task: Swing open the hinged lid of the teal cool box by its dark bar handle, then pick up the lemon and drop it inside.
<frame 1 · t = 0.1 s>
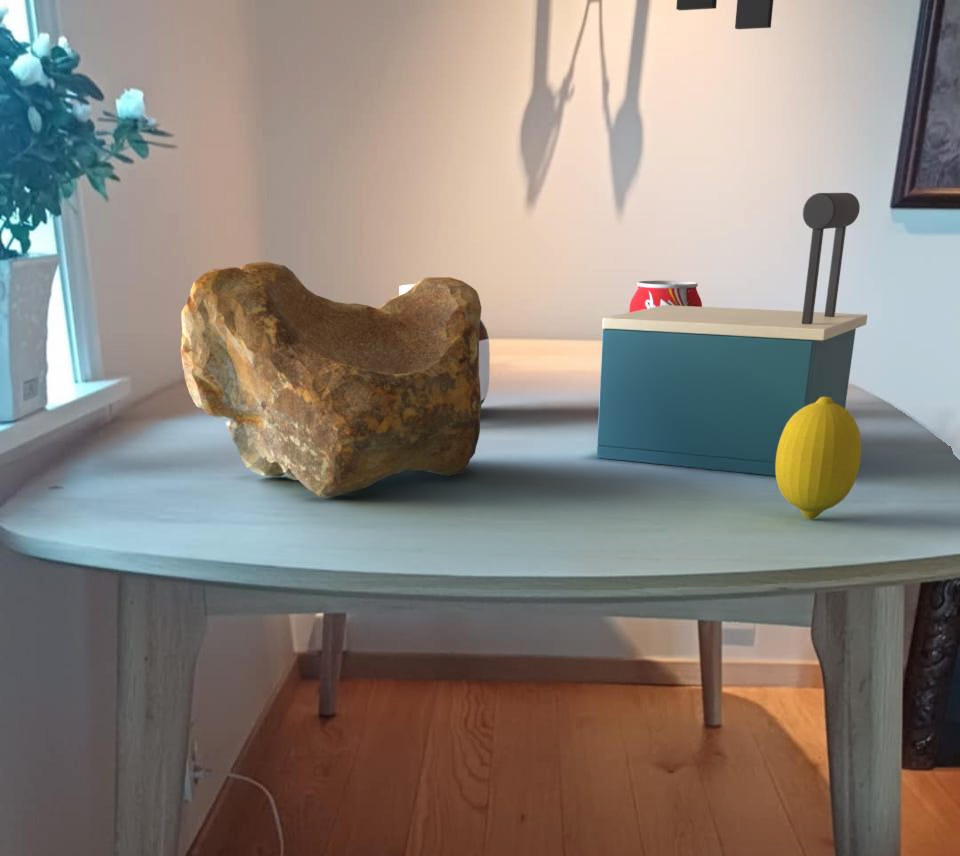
hand: (725, 19, 94), 31 cm above the table, tool pointing down, fingers open, 13 cm apart
lemon: (809, 522, 86), on the table
spread jar: (437, 420, 122), on the table
cooler lid: (742, 261, 100), point 15 cm above the table, hinge at 0.0°
soda can: (658, 416, 125), on the table
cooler: (720, 453, 107), on the table
rough brown rock: (353, 484, 96), on the table
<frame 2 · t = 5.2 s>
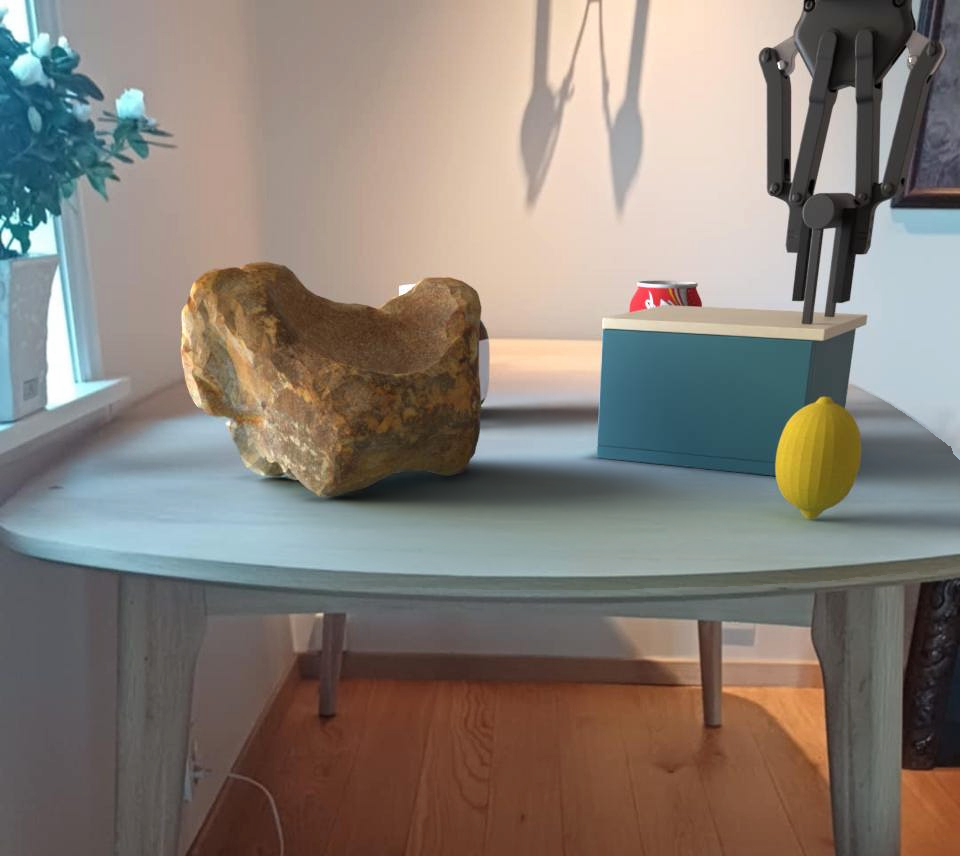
hand: (820, 300, 98), 12 cm above the table, tool pointing down, fingers closed on cooler lid, 2 cm apart
cooler lid: (742, 261, 100), point 15 cm above the table, hinge at 0.0°, touching gripper
everything else where it was.
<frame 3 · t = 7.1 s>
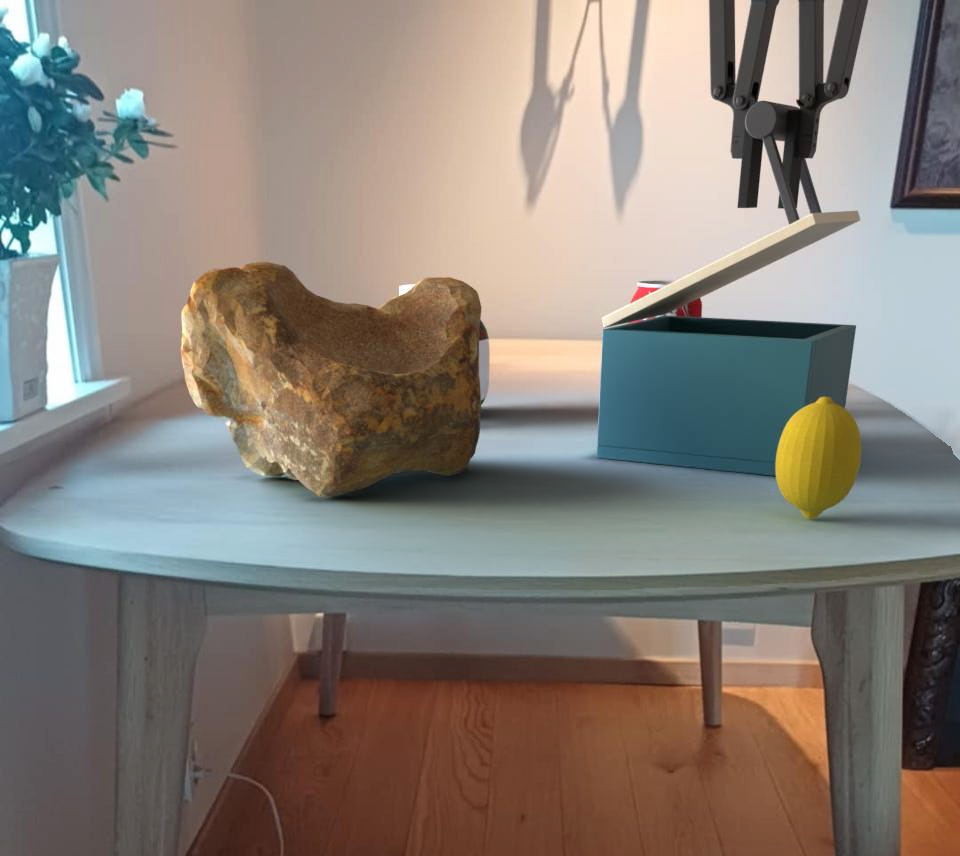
hand: (767, 207, 97), 19 cm above the table, tool pointing down, fingers closed on cooler lid, 2 cm apart
cooler lid: (713, 212, 99), point 18 cm above the table, hinge at 25.7°, touching gripper
everything else where it was.
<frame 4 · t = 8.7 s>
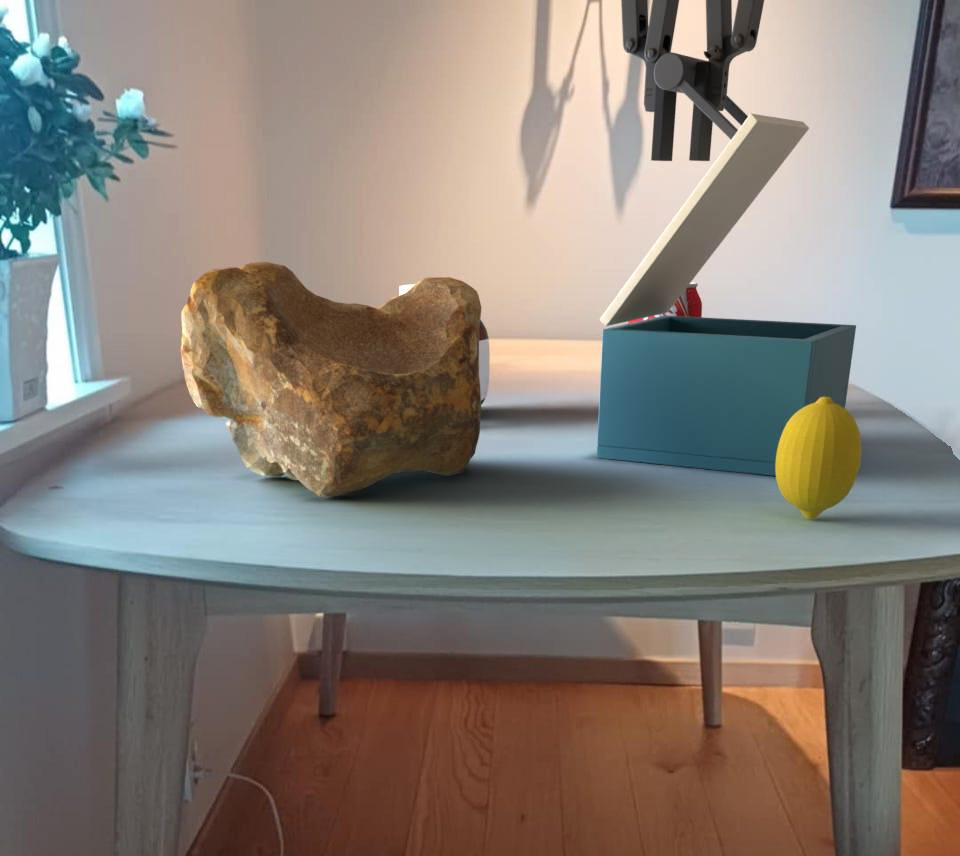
hand: (680, 160, 99), 22 cm above the table, tool pointing down, fingers closed on cooler lid, 2 cm apart
cooler lid: (665, 185, 100), point 20 cm above the table, hinge at 52.2°, touching gripper
everything else where it was.
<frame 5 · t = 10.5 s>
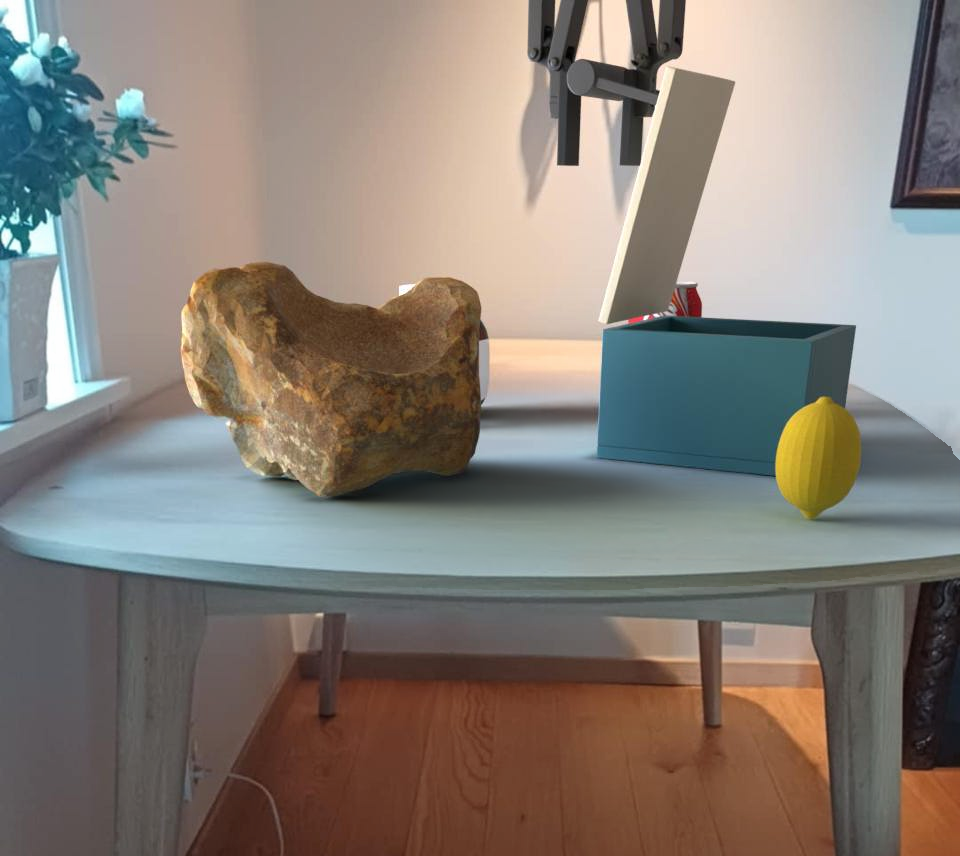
hand: (598, 164, 102), 22 cm above the table, tool pointing down, fingers open, 5 cm apart
cooler lid: (618, 185, 102), point 20 cm above the table, hinge at 75.7°
everything else where it was.
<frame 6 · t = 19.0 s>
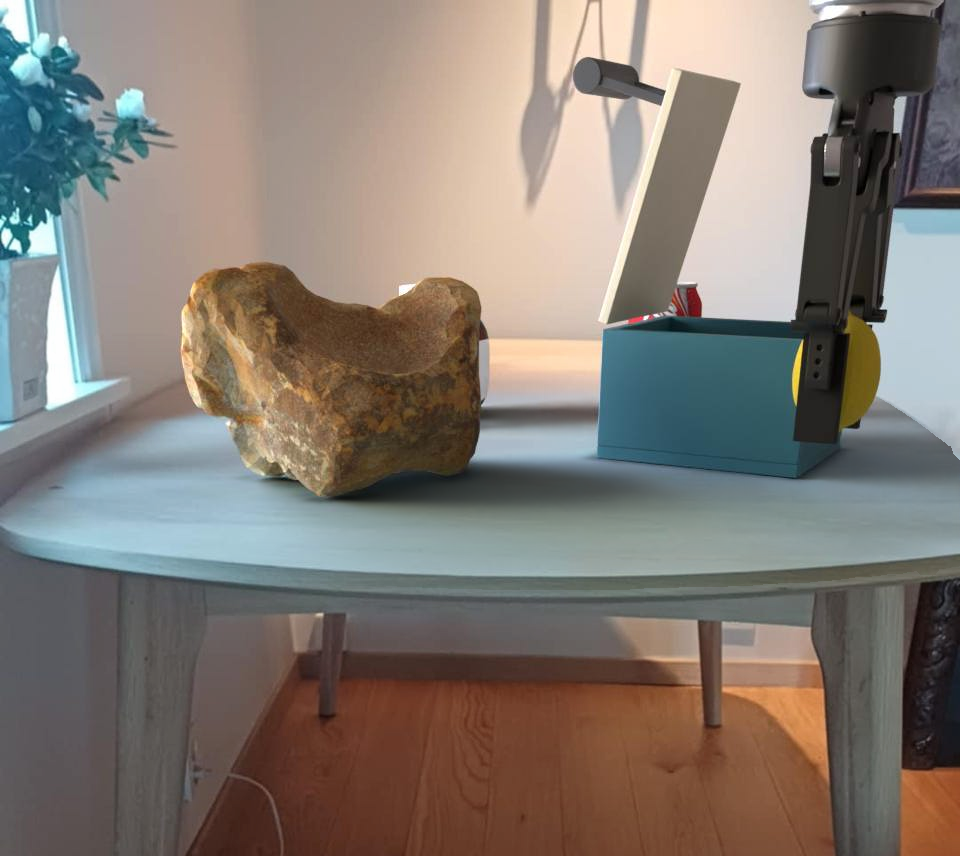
hand: (827, 433, 83), 6 cm above the table, tool pointing down, fingers closed on lemon, 6 cm apart
lemon: (828, 441, 83), point 5 cm above the table, touching gripper
cooler lid: (621, 184, 102), point 20 cm above the table, hinge at 74.1°
everything else where it was.
when the fingers open (13 cm above the table, at t = 23.3 s): lemon drops 10 cm, resting on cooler.
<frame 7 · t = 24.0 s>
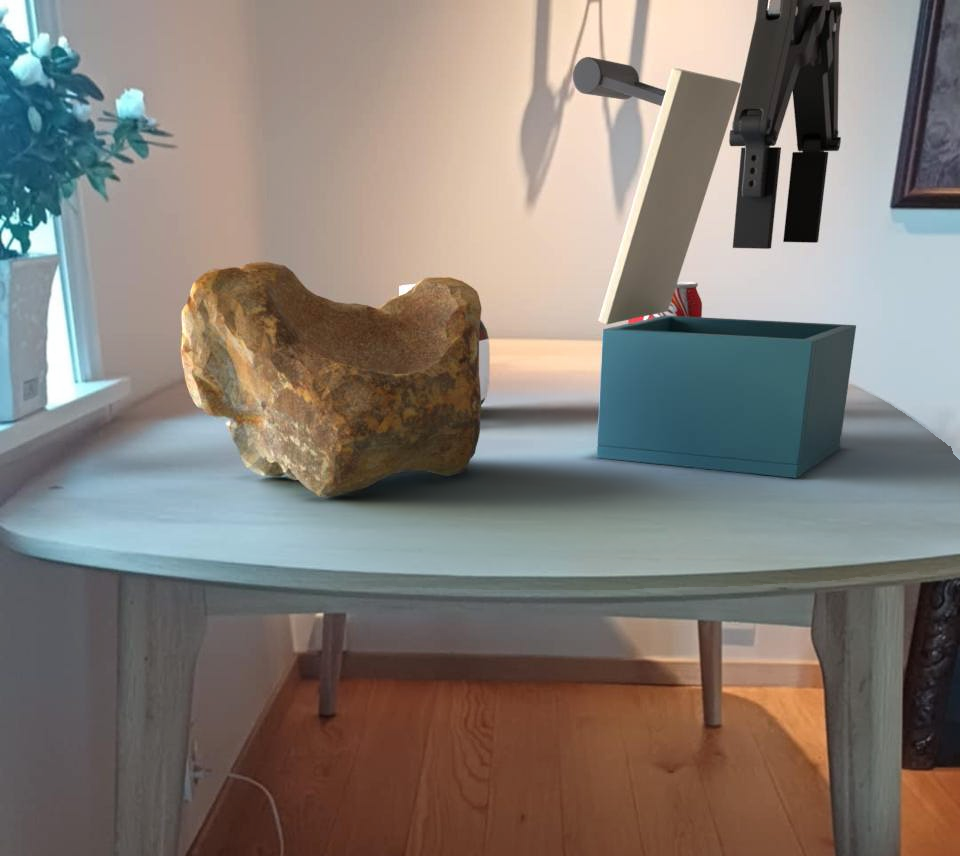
hand: (777, 245, 98), 16 cm above the table, tool pointing down, fingers open, 13 cm apart
lemon: (753, 431, 105), point 2 cm above the table, touching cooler
everything else where it was.
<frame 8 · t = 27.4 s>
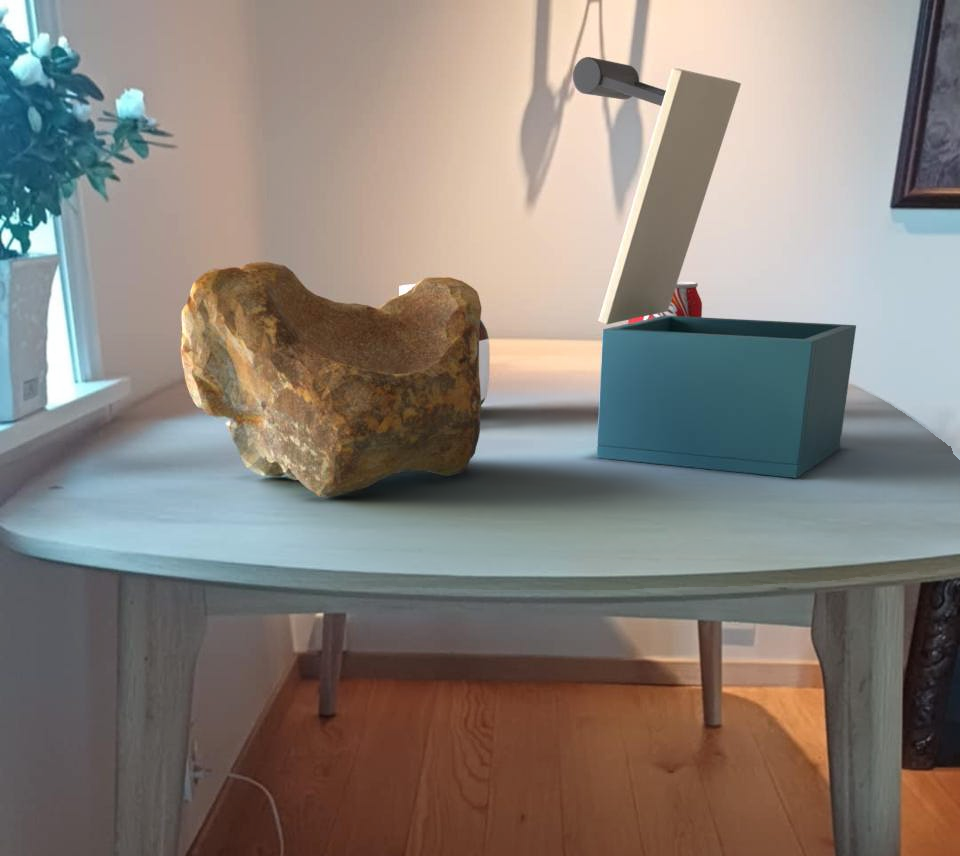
nothing on the table moved.
at the end: cooler lid at +74° (first picture: +0°); lemon inside the target area in the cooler (2.7 cm from its centre), point 2.1 cm above the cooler's base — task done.
